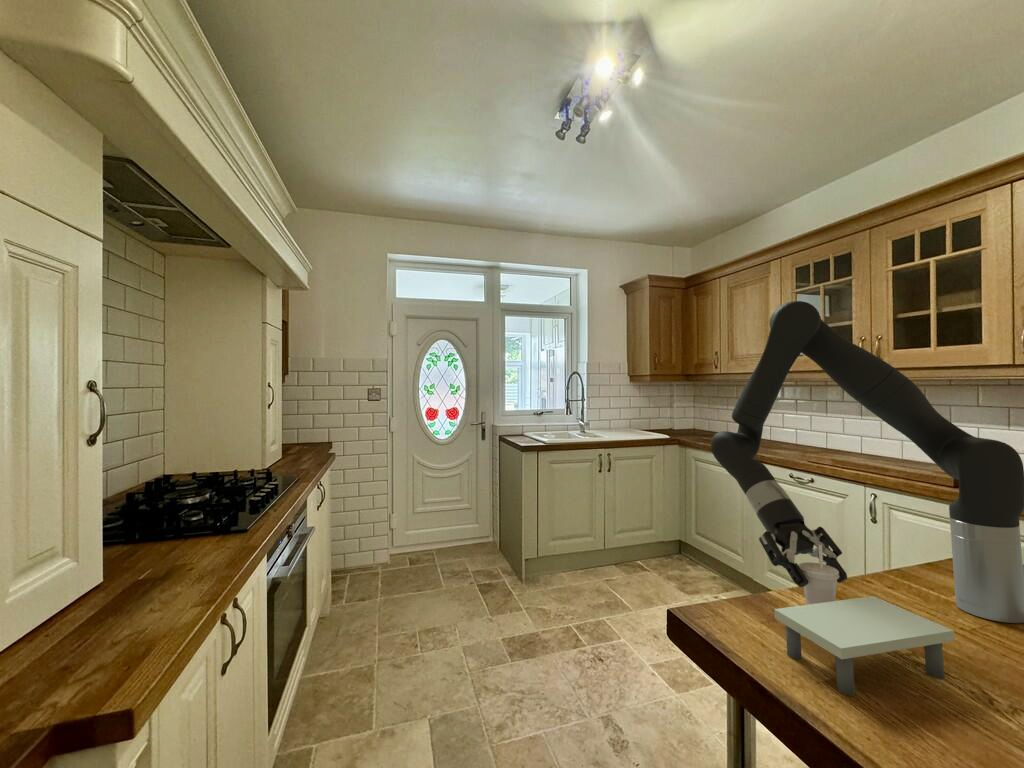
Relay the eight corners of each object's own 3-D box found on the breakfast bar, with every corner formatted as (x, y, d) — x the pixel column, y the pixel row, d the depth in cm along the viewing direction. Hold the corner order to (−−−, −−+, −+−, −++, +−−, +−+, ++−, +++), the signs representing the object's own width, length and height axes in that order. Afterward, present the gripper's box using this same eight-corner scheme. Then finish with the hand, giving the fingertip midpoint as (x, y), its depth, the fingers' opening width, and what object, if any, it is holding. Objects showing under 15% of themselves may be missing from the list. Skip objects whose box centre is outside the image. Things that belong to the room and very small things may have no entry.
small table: (875, 636, 76) (873, 596, 77) (957, 679, 64) (954, 630, 65) (776, 652, 72) (774, 609, 73) (844, 700, 61) (841, 648, 61)
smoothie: (849, 630, 79) (845, 551, 79) (810, 627, 80) (805, 549, 80) (831, 613, 85) (827, 540, 85) (794, 611, 86) (790, 539, 87)
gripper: (752, 499, 89) (802, 578, 78) (811, 494, 92) (868, 570, 80) (735, 519, 94) (780, 595, 83) (792, 514, 97) (843, 587, 85)
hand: (824, 583), depth 82 cm, fingers open, 8 cm apart
